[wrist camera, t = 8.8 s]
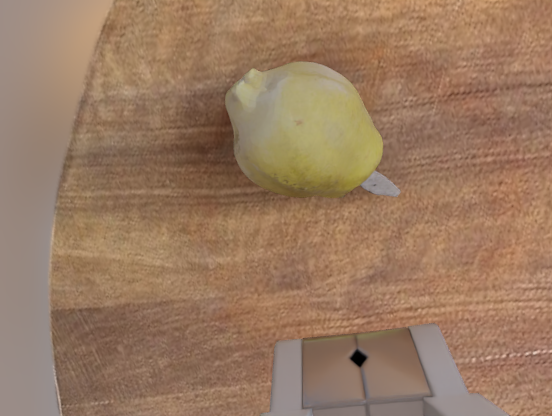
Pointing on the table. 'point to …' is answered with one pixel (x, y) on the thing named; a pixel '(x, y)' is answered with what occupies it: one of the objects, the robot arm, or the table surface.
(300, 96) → the fruit
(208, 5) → the table surface
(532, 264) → the table surface
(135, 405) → the table surface
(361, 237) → the table surface
